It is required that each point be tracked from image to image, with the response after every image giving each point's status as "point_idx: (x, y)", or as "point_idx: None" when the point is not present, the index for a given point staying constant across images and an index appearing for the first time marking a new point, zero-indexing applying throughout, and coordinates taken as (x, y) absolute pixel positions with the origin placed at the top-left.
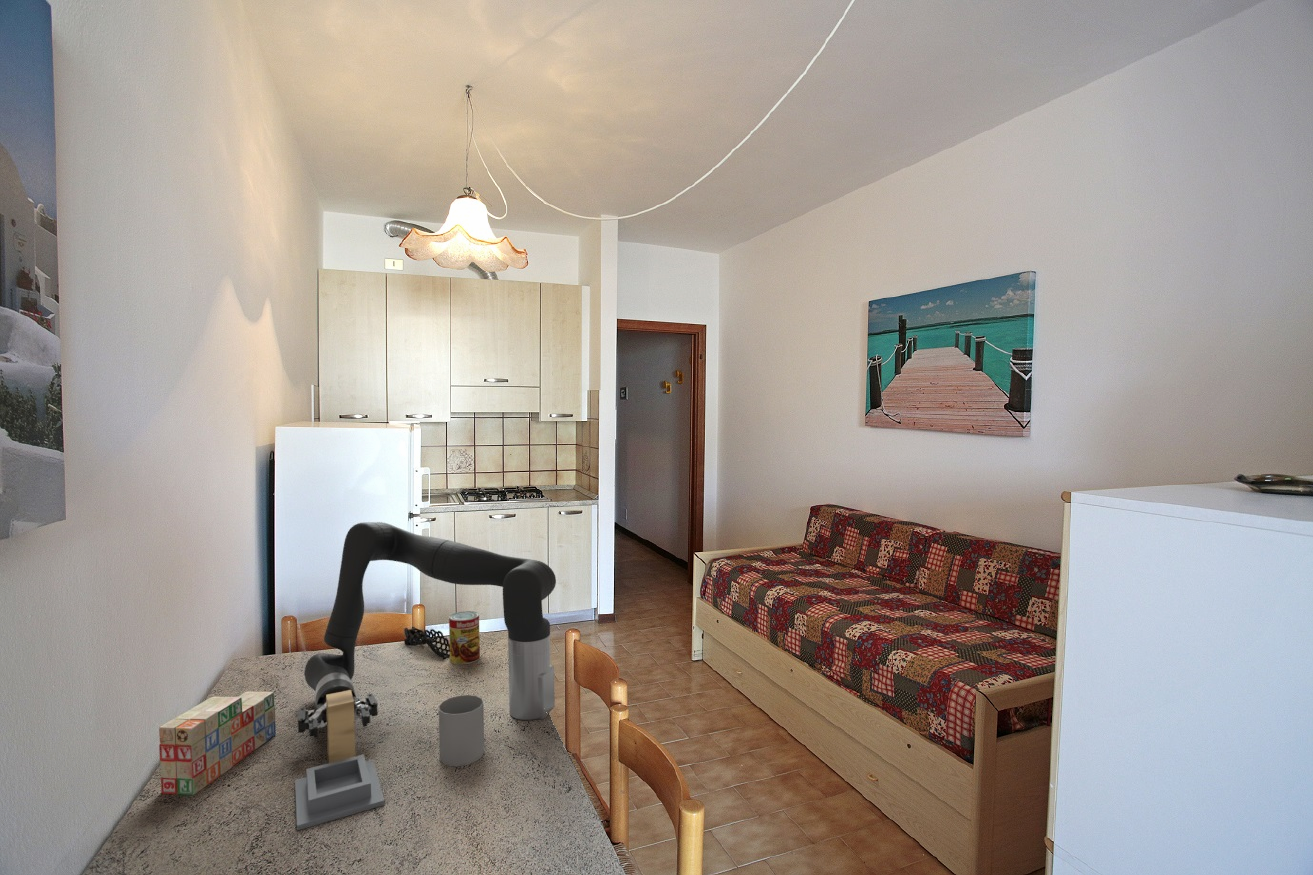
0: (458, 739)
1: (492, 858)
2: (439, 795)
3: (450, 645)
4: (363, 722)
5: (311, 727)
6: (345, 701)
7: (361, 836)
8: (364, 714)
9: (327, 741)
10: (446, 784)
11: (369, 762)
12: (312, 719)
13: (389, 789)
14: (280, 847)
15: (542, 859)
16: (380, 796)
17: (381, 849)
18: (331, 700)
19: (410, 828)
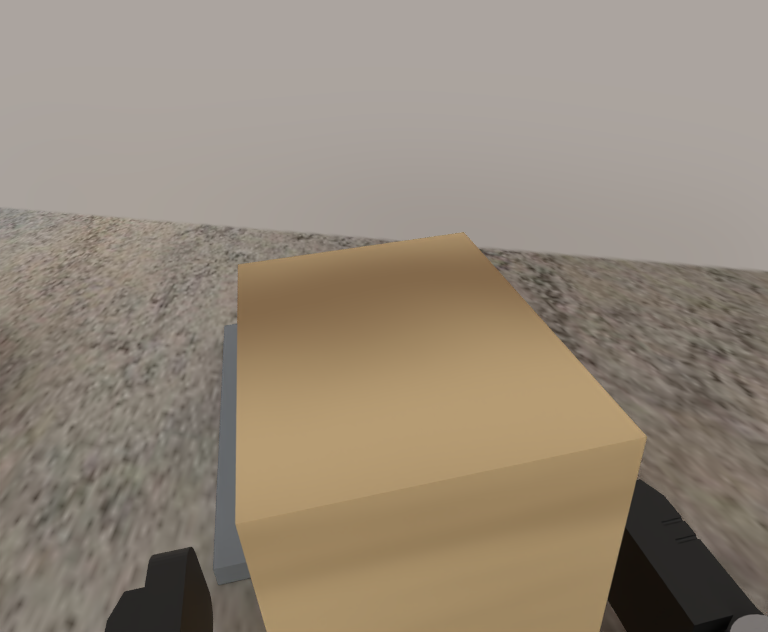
0: None
1: (87, 221)
2: (68, 344)
3: None
4: (200, 573)
5: (655, 511)
6: (317, 274)
7: None
8: (164, 583)
9: None
10: (16, 380)
11: (236, 546)
12: (741, 617)
13: (195, 393)
14: None
15: (22, 214)
16: (231, 338)
17: (258, 248)
18: (474, 300)
19: (188, 275)
